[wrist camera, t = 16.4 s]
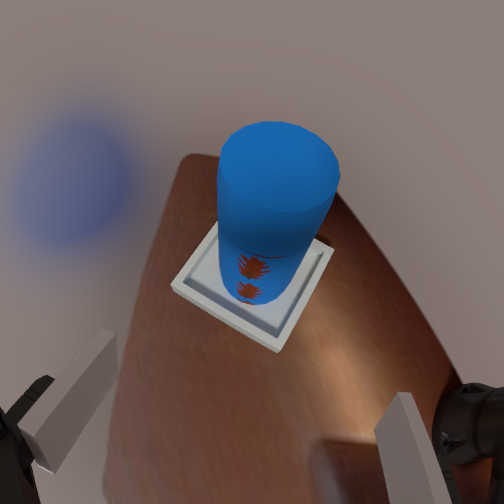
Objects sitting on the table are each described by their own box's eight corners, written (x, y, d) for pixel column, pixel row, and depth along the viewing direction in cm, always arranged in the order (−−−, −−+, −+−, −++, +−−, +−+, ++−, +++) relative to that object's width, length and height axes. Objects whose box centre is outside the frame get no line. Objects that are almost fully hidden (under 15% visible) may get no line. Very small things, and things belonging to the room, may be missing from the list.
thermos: (210, 295, 47) (199, 194, 24) (229, 233, 51) (236, 110, 29) (282, 314, 46) (336, 229, 24) (296, 250, 51) (345, 137, 29)
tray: (328, 257, 52) (334, 249, 49) (277, 353, 45) (280, 350, 42) (235, 206, 55) (236, 196, 52) (173, 291, 48) (170, 284, 45)
